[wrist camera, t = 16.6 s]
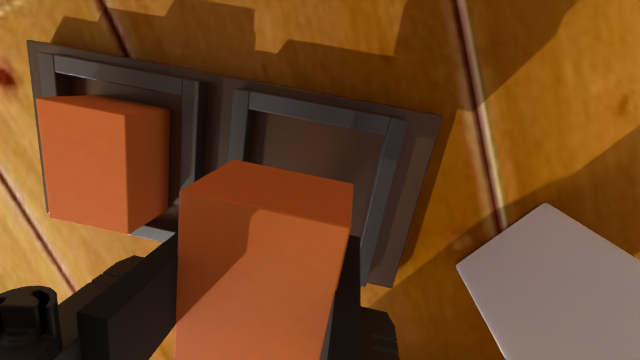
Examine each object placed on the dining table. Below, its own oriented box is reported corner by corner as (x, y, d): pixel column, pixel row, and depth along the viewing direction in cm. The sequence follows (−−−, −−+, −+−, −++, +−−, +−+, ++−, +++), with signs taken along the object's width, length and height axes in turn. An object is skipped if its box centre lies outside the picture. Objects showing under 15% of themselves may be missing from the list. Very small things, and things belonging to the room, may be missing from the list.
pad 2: (220, 298, 15) (172, 373, 11) (233, 158, 13) (178, 190, 9) (322, 322, 14) (310, 408, 11) (353, 183, 12) (351, 227, 8)
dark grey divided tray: (64, 205, 24) (29, 219, 22) (48, 42, 21) (4, 36, 18) (390, 276, 23) (394, 300, 20) (436, 113, 19) (448, 118, 16)
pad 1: (102, 195, 22) (48, 218, 18) (96, 94, 20) (34, 97, 16) (169, 209, 22) (128, 235, 18) (170, 108, 19) (125, 114, 16)
